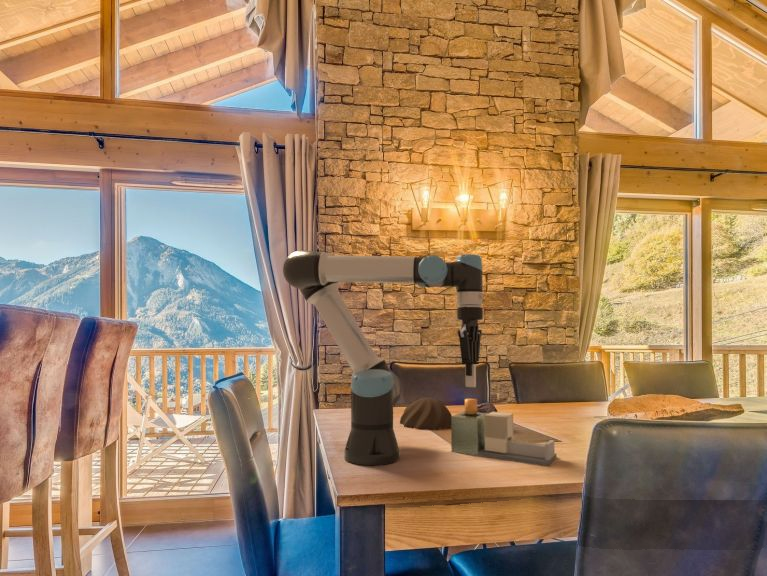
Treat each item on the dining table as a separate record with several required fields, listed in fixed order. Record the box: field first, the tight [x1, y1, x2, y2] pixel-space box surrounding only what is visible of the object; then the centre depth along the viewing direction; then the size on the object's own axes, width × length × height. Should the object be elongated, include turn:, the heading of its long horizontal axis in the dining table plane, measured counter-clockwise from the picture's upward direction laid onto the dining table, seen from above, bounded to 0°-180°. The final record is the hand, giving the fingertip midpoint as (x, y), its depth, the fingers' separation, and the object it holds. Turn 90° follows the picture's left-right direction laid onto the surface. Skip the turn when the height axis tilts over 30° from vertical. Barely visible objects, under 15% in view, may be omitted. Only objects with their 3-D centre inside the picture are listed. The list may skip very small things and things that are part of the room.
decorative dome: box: [399, 396, 453, 430], centre depth 183 cm, size 19×20×10 cm
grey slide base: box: [478, 439, 557, 467], centre depth 139 cm, size 10×19×5 cm, turn 58°
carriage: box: [485, 411, 514, 453], centre depth 142 cm, size 7×6×10 cm
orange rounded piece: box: [464, 398, 478, 415], centre depth 147 cm, size 4×4×4 cm
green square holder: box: [450, 410, 488, 456], centre depth 146 cm, size 10×8×10 cm
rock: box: [477, 401, 498, 414], centre depth 175 cm, size 12×9×10 cm
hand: (470, 386), depth 147 cm, fingers closed
